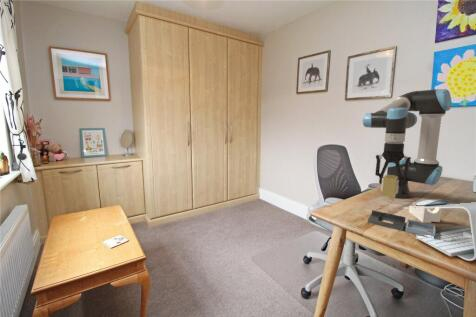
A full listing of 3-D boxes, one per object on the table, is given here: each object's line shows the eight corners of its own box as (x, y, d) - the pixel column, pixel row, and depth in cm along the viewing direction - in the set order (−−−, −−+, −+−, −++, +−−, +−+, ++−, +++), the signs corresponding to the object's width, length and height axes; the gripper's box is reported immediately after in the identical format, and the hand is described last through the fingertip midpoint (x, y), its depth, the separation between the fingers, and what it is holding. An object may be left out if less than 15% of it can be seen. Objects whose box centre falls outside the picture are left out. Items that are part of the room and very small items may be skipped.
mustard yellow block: (383, 192, 114) (385, 173, 112) (396, 195, 110) (398, 175, 109) (381, 195, 110) (383, 176, 108) (394, 197, 107) (396, 177, 105)
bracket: (439, 223, 111) (441, 208, 110) (422, 222, 112) (424, 207, 111) (423, 212, 124) (425, 199, 122) (408, 212, 125) (410, 198, 124)
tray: (407, 223, 111) (407, 219, 111) (434, 229, 105) (435, 225, 104) (405, 231, 104) (405, 227, 103) (434, 238, 97) (435, 233, 97)
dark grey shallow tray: (371, 215, 121) (372, 210, 120) (404, 223, 112) (405, 217, 111) (367, 222, 113) (368, 216, 113) (402, 230, 104) (403, 224, 104)
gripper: (370, 142, 109) (366, 190, 113) (418, 144, 97) (412, 197, 101) (373, 140, 114) (369, 186, 118) (419, 142, 103) (413, 193, 107)
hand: (389, 191), depth 110 cm, fingers closed on mustard yellow block, 5 cm apart
